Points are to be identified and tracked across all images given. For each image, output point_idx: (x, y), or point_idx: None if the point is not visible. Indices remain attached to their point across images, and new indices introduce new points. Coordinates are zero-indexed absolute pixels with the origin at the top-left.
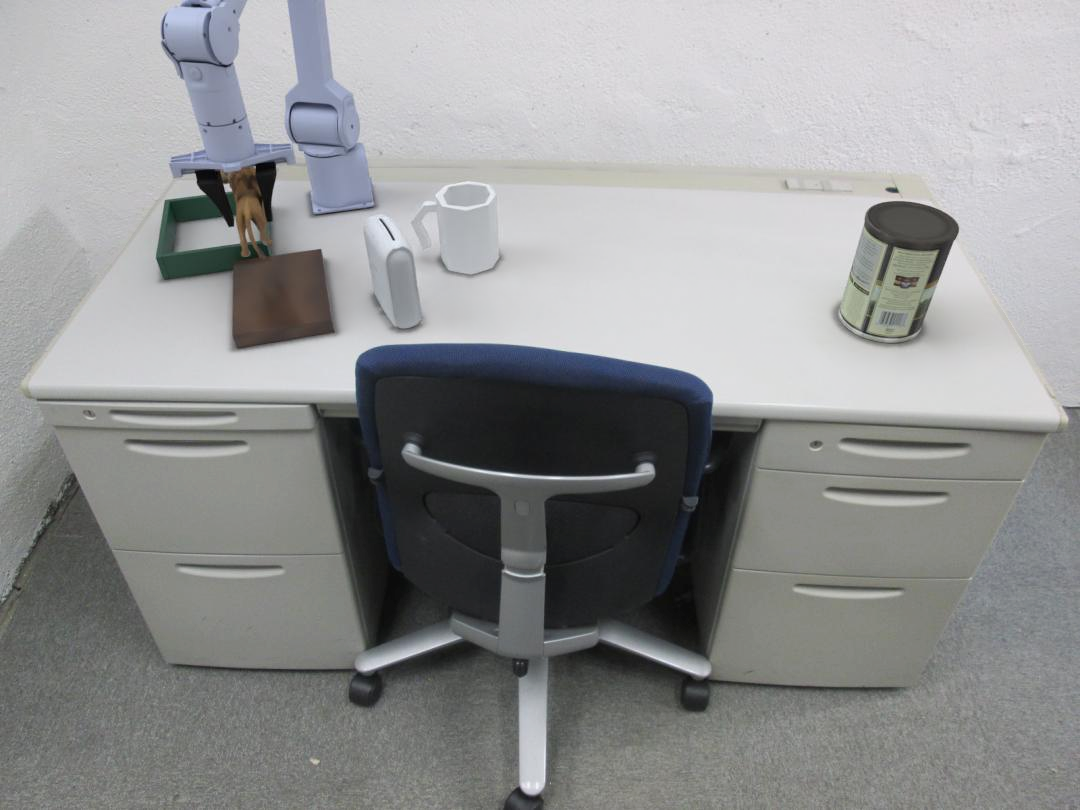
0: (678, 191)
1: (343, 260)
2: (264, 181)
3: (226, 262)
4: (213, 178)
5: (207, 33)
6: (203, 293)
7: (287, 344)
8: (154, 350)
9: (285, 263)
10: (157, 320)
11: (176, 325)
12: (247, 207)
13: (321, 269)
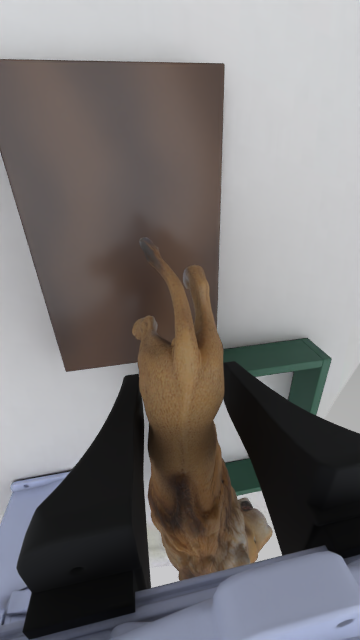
0: None
1: (34, 354)
2: (94, 495)
3: (225, 357)
4: (331, 502)
5: None
6: (260, 294)
7: (104, 54)
8: (352, 127)
9: (127, 334)
10: (331, 229)
11: (307, 205)
12: (184, 368)
13: (51, 304)
